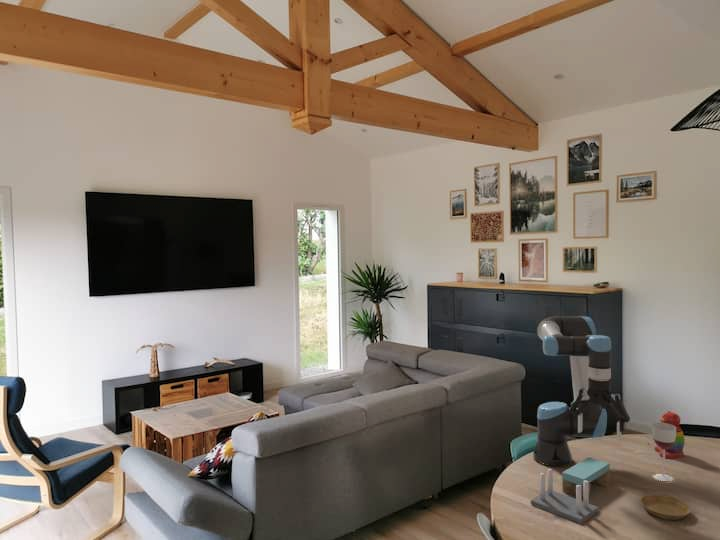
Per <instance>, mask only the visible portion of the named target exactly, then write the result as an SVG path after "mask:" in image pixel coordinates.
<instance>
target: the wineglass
mask: <svg viewBox="0 0 720 540" xmlns="http://www.w3.org/2000/svg"><path fill="white" fill-rule="evenodd" d="M651 426H652V428H651V431H652V439H653V441H654V443H655V444H656V446H659V447H661V448H662V449H663V457H662V473H655V474H656V475H654V474H653V475H654V476H653V475H652V478H653V477H654V478H655V480H657V479H658V480H659V481H660V480H661V481H660V482H662V481H670V482H669V483H672V482H671V481H672V480H673V478H674V477H673V476H671V475H669V476H668V474H666V458H665V449H667V448H670V447H672V446H673V444H674V442H675V439H676V427H675V426H674V425H671V424H667V423H662V422H653V423H651ZM662 474H663V475H662ZM670 476H671V477H670ZM672 477H673V478H672ZM654 478H653V479H654ZM658 480H657V481H658Z"/></svg>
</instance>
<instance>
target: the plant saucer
mask: <svg viewBox="0 0 720 540" xmlns="http://www.w3.org/2000/svg"><path fill="white" fill-rule="evenodd" d="M639 502H640V504H641V505H642V506H643V508H645V510H646V511H647V512H648V513H650V514H651V515H653V516H655V517H657V518H661V519H664V520H670V521H671V520H673V521H676V520H681V519H683V518H686V516H688V515H689V514H691V510H692V509H691V507H690V506H689V505H688V504H687V503H686V502H684V501H682V500H680V499H678V498H675V497H672V496H667V495H661V494H648V495H643V496H642V497H641V498H640V499H639Z"/></svg>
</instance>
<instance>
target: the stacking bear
mask: <svg viewBox="0 0 720 540" xmlns="http://www.w3.org/2000/svg"><path fill="white" fill-rule="evenodd" d="M660 423H667V424H671V425H674V426H675V427H676V439H675V442H674V444H673V446H672V447H670V448H667V449H665V459H671V460H672V458H674V459H681V458H683V457H684V456H685V455H684V447H685V435H684V432H683V429H682V427H680V425H681V417H680V416H679V415H678V414H677V413H675V412H672V411H669V410H667V412H665V413H664V414H663V415H662V416H661V417H660ZM654 451H655V452H657V453H659V456H660V457H661V458H663V449H662V448H661V447H659V446H658V445H656V446H654Z"/></svg>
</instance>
